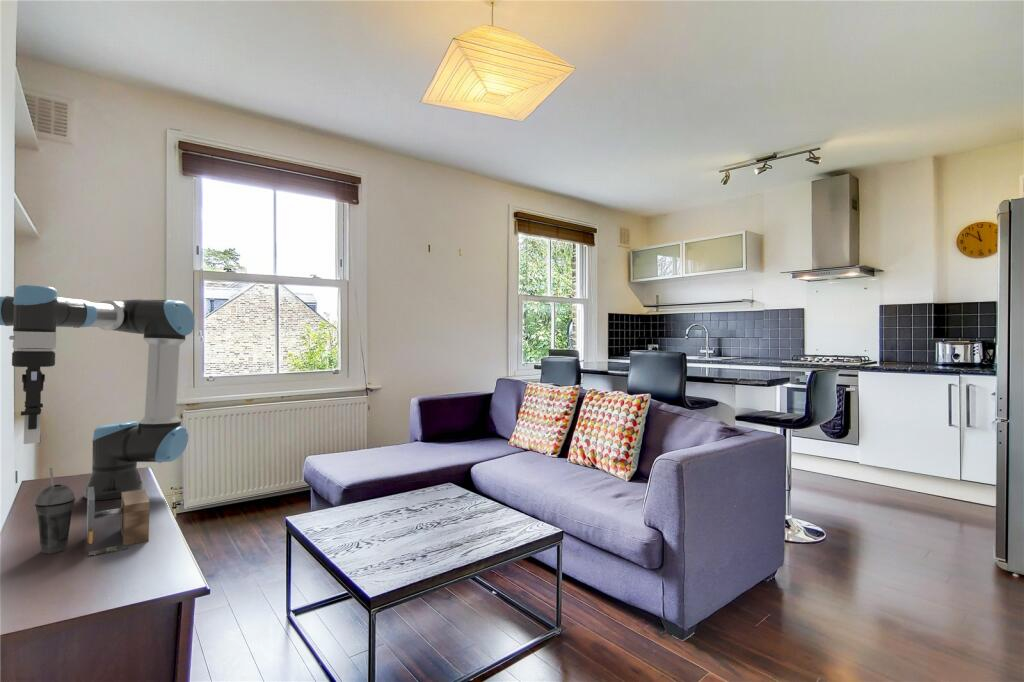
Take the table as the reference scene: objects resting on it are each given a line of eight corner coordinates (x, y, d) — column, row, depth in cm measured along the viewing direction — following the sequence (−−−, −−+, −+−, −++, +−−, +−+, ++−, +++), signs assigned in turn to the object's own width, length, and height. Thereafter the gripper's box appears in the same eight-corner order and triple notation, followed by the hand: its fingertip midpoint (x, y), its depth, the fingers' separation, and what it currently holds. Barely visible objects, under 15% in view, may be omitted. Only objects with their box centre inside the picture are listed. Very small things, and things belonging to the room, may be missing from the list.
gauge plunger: (87, 544, 119) (88, 502, 119) (86, 525, 131) (87, 487, 131) (139, 535, 125) (140, 494, 125) (134, 517, 137) (135, 481, 137)
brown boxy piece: (88, 556, 118) (89, 513, 118) (87, 535, 131) (89, 496, 131) (149, 544, 126) (150, 504, 126) (143, 525, 139) (144, 489, 139)
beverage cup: (81, 546, 124) (83, 465, 124) (45, 558, 117) (48, 471, 117) (61, 542, 126) (64, 462, 126) (25, 553, 119) (28, 468, 119)
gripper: (13, 349, 127) (10, 433, 127) (11, 351, 109) (8, 449, 109) (53, 349, 132) (50, 430, 132) (57, 351, 114) (54, 445, 114)
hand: (31, 439), depth 120 cm, fingers open, 13 cm apart
